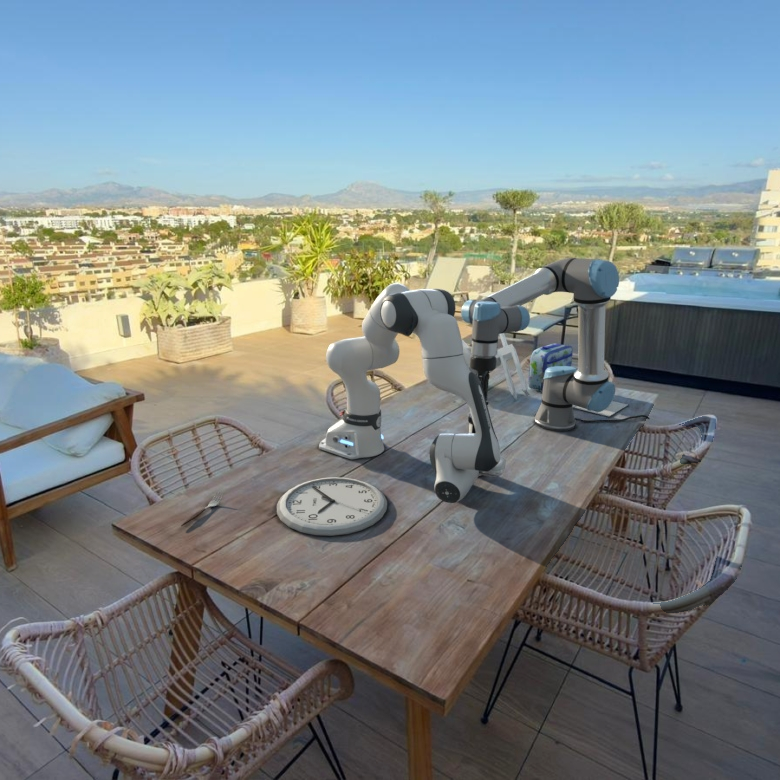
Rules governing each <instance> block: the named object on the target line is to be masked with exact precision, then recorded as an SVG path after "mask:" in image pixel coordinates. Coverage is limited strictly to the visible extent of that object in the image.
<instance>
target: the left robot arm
mask: <svg viewBox="0 0 780 780" xmlns="http://www.w3.org/2000/svg"><path fill="white" fill-rule="evenodd" d="M455 315H456V302H455V299H454V297H453V295H452V294H451V292H449V291H448V290H445V289H442V288H431V289H430V288H429V289H428V288H421V289H418V288H417V289H413V290H410V288H408V287H407V286H406V285H405V284H401V283H397V282H396V283H395V282H394V283H390V284H389V285H387V286H386V287H385V288H384V289H383V290H382V291H381V292H380V293H379V294H378V295H377V297H376V298H375V300H374V301H373V302H372V304H371V306H370V308H369V309H368V311H367V313H366V315H365V316H364V318H363V320H362V322H361V331H362V335H363V336H358V337H350V338H344V339H340V340H337V341H335V342H332V343H330V344H329V346H328V347H327V350H326V353H325V361H326V364H327V366H328V367H329V369H330V371H332V372H333V373H335V374H336V375H338V377H339V378H340V379H341V381H342V382H343V385H344V388H345V395H346V408H344V409H343V410H342V411H341V412H339V414H340V415H339V416H340V417H342V418H341V419H340V420H338V421H337V422H335V423H334V424H332V425H331V426H330V427H328V429H327V431H326V434H325V438H324V439H322V440H321V441H320V443H319V444H318V449H319V450H322V451H323V452H324V451H325V452H327V453H330V454H334V455H336V456H339V457H342V458H345V459H348V460H356V459H362V458H371V457H377V456H378V455H380V454H382V453H384V451H385V446H384V442H383V440H384V435H383V434H382V430H381V427H382V409H381V389H380V387H379V386H378V384H377V383H375V382H374V381H372V380H370V379H368V376H367V371H372V370H378V369H383V368H387V367H390V366H391V365H393V364H395V363H396V362H397V361H398V359H399V357H400V346H399V343H398V341H397V340H396V337H398V335H399V334H400V335H403V336H405V337H410V336H411V335H412V334H415V335H416V336H417V338H418V339H419V342H420V351H421V352H420V354H421V363H422V369H423V374H424V377H425V379H426V380H427V382H429V383H430V384H431V385H432V386H434V387H435V388H437V389H439V390H442V391H444V392H447V393H450V394H453V395H455V396H457V397H459V398H461V399H462V400H463V401H464V402H466V404H467V406H468V408H469V413H471V416H472V420H473V424H474V427H475V431H476V433H469V432H467V433H465V432H464V433H461V432H460V433H459V432H441V433H439V434H438V435H436V436H435V438H434V439H433V441H432V443H431V445H430V448H429V462H430V465H431V467H432V469H433V471H434V473H435V475H436V477H435V482H434V487H433V489H434V490H433V491H434V494H435V495H436V497H437V498H438V499H439V500H441V501H442V502H444V503H448V504H456V503H458V502H460V501H462V500H463V499H464V498H465V497H466V496H467V494H468V493H469V492H470V490H471V489H472V487H473V485H474V484H475V482H476V481H477V479H478V478H479V477H480V476H479V474H480V475H481V476H485V477H491V478H498V477H499V476H501V475H502V474H503V473H504V471H506V464H507V463H506V462H507V461H506V459H505V457H502V456H501V453H502V452H501V447H500V444H499V443H500V442H499V440H498V437H497V434H496V431H495V429H494V425H493V421H492V418H491V414H490V410H489V407H488V406H489V405H487V403H486V402H487V401H486V399H485V395H484V392H483V389H482V386H481V383H480V380H479V378H478V376H477V375H476V374H474V373H472V372H471V371H470V370H469V368H468V366H467V365H466V362H465V359H464V354H463V345H462V339H463V338H462V335H461V331H460V327H459V324H458V321H457V319H456V318H455Z"/></svg>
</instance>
